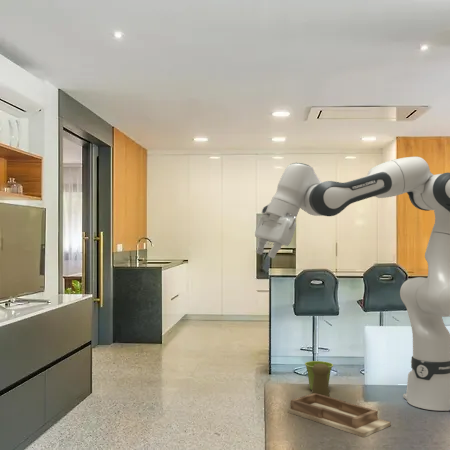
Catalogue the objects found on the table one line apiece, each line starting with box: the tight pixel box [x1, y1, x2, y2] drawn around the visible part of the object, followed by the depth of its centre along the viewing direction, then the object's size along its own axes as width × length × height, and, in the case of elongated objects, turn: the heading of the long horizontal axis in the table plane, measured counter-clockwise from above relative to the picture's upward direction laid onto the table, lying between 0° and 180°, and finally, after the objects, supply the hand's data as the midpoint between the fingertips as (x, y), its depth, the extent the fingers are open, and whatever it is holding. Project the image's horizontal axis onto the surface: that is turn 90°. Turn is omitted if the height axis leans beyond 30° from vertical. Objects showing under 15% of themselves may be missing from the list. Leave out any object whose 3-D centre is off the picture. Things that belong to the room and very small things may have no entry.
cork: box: [311, 364, 331, 397], centre depth 174 cm, size 6×6×11 cm
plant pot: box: [304, 360, 334, 391], centre depth 185 cm, size 9×9×9 cm
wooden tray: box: [287, 393, 392, 438], centre depth 155 cm, size 13×26×4 cm, turn 42°
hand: (264, 255), depth 163 cm, fingers open, 8 cm apart
